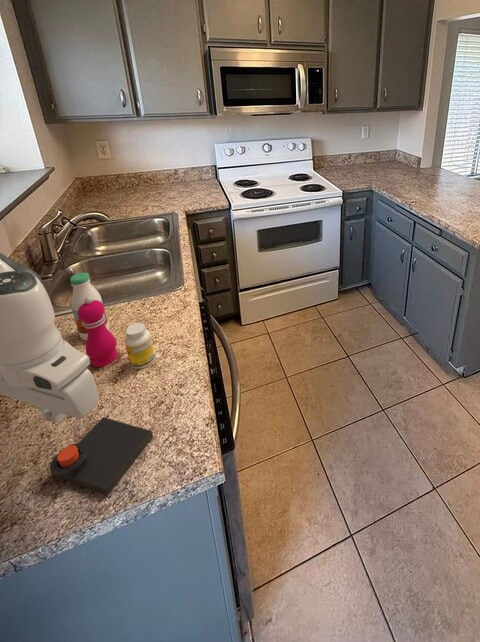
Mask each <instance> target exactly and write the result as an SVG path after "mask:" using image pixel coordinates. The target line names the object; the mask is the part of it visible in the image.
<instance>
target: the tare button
mask: <svg viewBox="0 0 480 642" xmlns="http://www.w3.org/2000/svg"><path fill="white" fill-rule="evenodd" d="M70 445H71V444H70ZM62 449H63V450H62ZM62 449H61V450H62V451H61V450H60V451H61V452H60V451H59V452H60V453H59V452H58V453H59V454H58V453H57V454H58V457H57V459H58V462H59V464H60V466H61V467H68V466H70V465H72V464H74V463H75V462H76V461H77V459H78V458H79V452H78V449H77V447H76V446H75V445H71V446H69V445H67V446H66V447H64V448H62Z"/></svg>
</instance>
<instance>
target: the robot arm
mask: <svg viewBox="0 0 480 642" xmlns="http://www.w3.org/2000/svg"><path fill="white" fill-rule="evenodd" d="M55 320H56V313H55V310H54V307H53V304H52V301H51V299H50V296H49V294H48V291H47V289H46V288H45V284H44V282H43V279H42V277H41V276H40V275H39V273H37V272H36V271H35V270H33V269H31V268H30V267H28V266H26V265H24V264H21V263H19V262H17V261H15V260H13V259H11V258H10V257H8V256H6V255H5V254H3V253H2V252H0V395H2V396H4V397H7V398H11V399H14V400H16V401H17V400H18V401H20V402H24V403H28V404H30V405H33V406H34V407H35V408H36V409H37V410H38V411H39V412H40V413H41V414H42V416H43V419H44V420H46V421H48V422H53V423H55V424H59V423H61V422H62V421H63V420H64V419H65V417H66V416H68V417H72V418H75V419H78V420H81V419H83V418H85V417H86V416H87V415H89V414H90V412H91V411H92V410H93V409H94V408H95V407H96V406H97V405H98V403H99V401H100V397H99V391H98V388H97V384H96V380H95V378H94V376H93V374H92V372H91V371H90V370H89V368H88V366H89V365H90V364H91V359H90V357H89V356H88V355H87V354H85V353H83V352H82V351H80V350H78V349H77V348H75V347H74V346H72V345H71V344H70V343H69V342H68V341H67V340H65V339H63V335H62V332H61V331H60V329H59V328H58V327H57V325H56V323H55Z"/></svg>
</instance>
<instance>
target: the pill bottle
mask: <svg viewBox="0 0 480 642" xmlns="http://www.w3.org/2000/svg"><path fill="white" fill-rule="evenodd" d="M125 335H126V336H125V339H124V345H125V348H126V353H127V357H128V361H129V365H130V367H131V368H133V369H137V370H138V369H139V370H140V369H144V368H146V367H149V366H150V365H152V363H154V361H155V359H156V353H155V349H154V344H153V341H152V336H151V332H150V331H149V330H147V328H146V325H145V324H144V323H142V322H136V323H133V324H131V325H129V326H127V328H126V329H125Z"/></svg>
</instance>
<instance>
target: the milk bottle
mask: <svg viewBox="0 0 480 642" xmlns="http://www.w3.org/2000/svg"><path fill="white" fill-rule="evenodd" d="M69 282H70V285H71V287H72V294H71V297H70V307H71V311H72V316H73V319H74V321H75V325H76V329H77V331H78V335H79V337H80V339H81V340H83V341H86V342H87V338H88V332H87V328H85V327H84V326H83V325H84V324H83V321H82V320H80V319H79V317H78V309H79V307H80V306H81V305H82V304H83V303H85V302H84V300H85V299H86V298H87V297H91V298H92V299H93V300H98V301H100V302H102V303H103V304H104V302H103V299H102V296H101V294H100V292H99V291H98V290H97V289H96V288H95V287H94V286H93V284H92V283H91V279H90V274H89V273H88V272H79V273H76V274H73V275H72V276H71V277H70V278H69ZM104 315H105V322H104V323H105V326H106V328H107V329H108V331H110V324H109V320H108V317H107V313H106V311H105V312H104Z"/></svg>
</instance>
